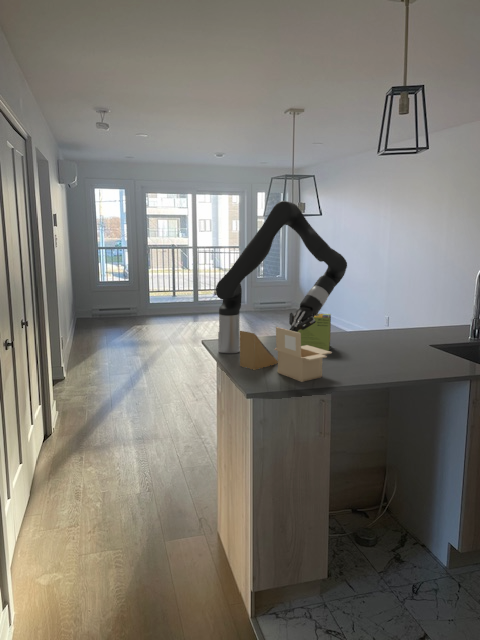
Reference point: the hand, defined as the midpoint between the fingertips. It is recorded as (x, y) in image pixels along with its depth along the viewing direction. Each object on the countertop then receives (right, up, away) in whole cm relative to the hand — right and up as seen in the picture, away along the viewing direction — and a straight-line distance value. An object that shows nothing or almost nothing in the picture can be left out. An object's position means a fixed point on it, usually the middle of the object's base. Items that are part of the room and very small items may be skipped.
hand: (289, 336), depth 181 cm
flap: (0, -2, 0) cm, 2 cm away
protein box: (+16, -7, +49) cm, 52 cm away
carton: (+6, -15, +7) cm, 18 cm away
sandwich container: (-10, -13, +20) cm, 26 cm away
